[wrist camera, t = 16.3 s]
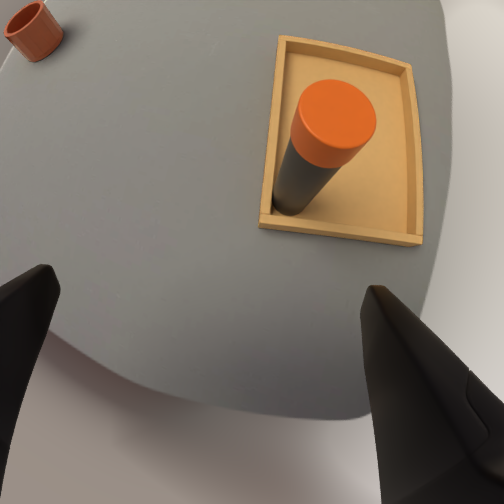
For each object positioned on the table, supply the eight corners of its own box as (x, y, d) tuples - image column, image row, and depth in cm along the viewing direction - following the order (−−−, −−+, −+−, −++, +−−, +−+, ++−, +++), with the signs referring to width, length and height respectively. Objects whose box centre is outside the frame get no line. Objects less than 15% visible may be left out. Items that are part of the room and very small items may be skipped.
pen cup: (52, 57, 22) (29, 29, 17) (20, 65, 22) (-4, 41, 17) (70, 24, 22) (51, -5, 17) (37, 33, 22) (17, 7, 17)
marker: (306, 219, 21) (378, 155, 9) (267, 215, 21) (295, 140, 9) (309, 182, 21) (375, 87, 9) (271, 177, 21) (300, 72, 9)
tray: (409, 247, 21) (422, 244, 19) (257, 227, 21) (258, 222, 19) (402, 76, 22) (411, 64, 20) (277, 49, 22) (279, 34, 20)
